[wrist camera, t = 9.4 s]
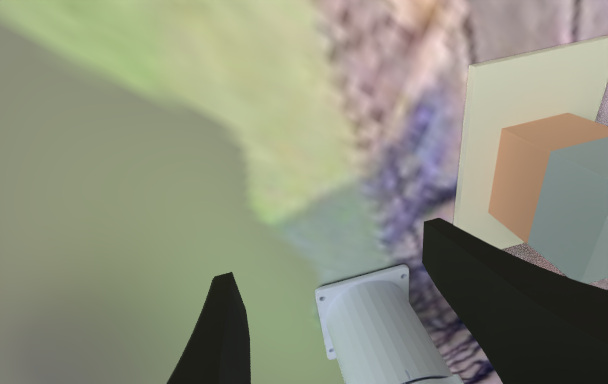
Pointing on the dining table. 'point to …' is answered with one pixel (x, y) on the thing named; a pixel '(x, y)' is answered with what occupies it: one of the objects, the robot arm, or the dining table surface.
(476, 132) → the baseboard
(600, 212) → the slate brick
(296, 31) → the dining table surface
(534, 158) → the terracotta brick
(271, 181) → the dining table surface
